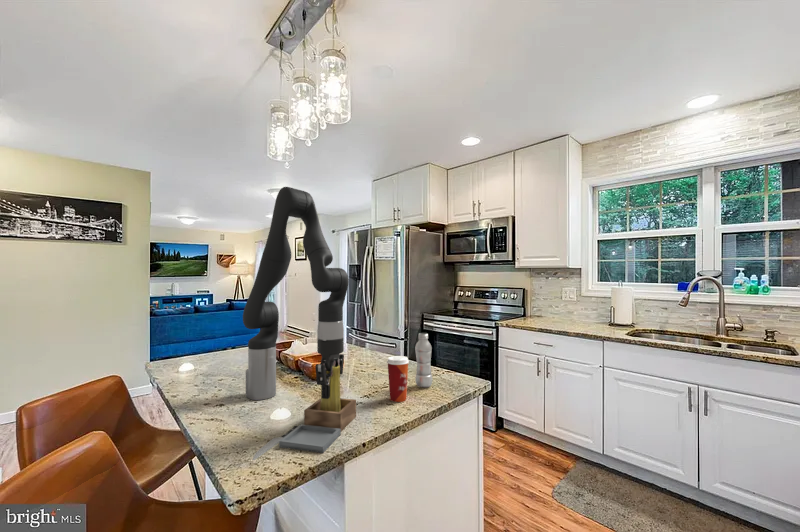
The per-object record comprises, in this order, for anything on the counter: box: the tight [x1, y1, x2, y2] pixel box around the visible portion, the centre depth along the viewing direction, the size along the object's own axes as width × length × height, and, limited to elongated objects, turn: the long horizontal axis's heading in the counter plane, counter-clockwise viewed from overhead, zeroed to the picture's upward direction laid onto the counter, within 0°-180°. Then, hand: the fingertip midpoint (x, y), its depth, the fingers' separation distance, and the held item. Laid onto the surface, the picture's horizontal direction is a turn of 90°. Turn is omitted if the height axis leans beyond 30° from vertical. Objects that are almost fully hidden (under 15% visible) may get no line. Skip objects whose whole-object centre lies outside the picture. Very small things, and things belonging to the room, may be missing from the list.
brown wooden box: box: [303, 397, 357, 433], centre depth 100 cm, size 11×11×5 cm
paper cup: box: [386, 355, 410, 403], centre depth 119 cm, size 8×8×14 cm
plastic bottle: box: [414, 332, 433, 388], centre depth 132 cm, size 6×7×20 cm
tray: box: [278, 423, 342, 454], centre depth 89 cm, size 12×10×2 cm
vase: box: [320, 365, 341, 412], centre depth 101 cm, size 6×6×14 cm
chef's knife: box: [252, 425, 299, 461], centre depth 88 cm, size 19×1×3 cm
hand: (330, 394), depth 101 cm, fingers closed on vase, 5 cm apart
